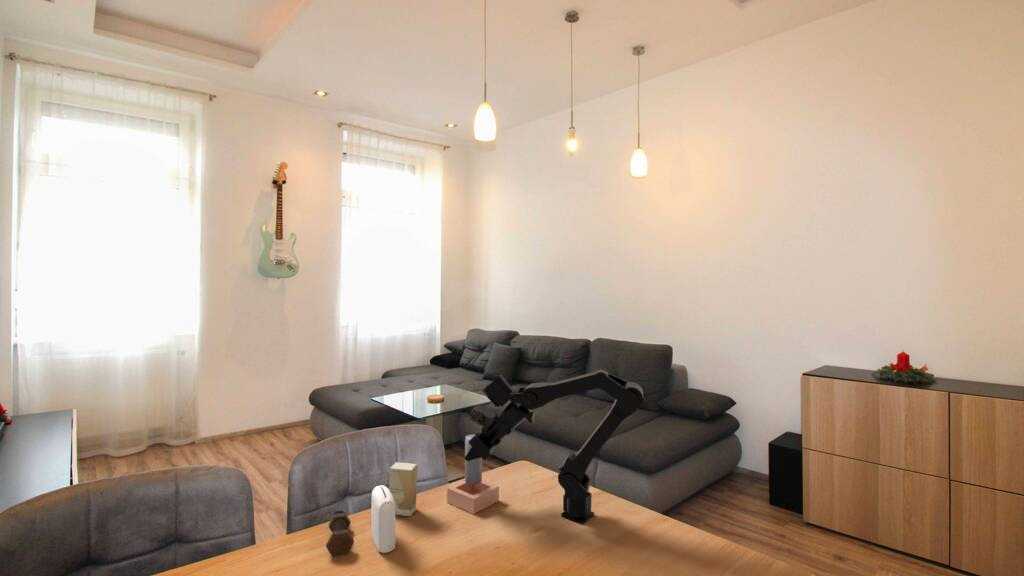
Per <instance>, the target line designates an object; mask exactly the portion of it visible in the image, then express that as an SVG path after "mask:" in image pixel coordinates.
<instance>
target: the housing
mask: <svg viewBox="0 0 1024 576" xmlns="http://www.w3.org/2000/svg"><path fill="white" fill-rule="evenodd" d="M499 501H500V486H499V485H496V484H493V483H491V482H488V481H486V480H484V479H482V482H480V483H478V484H468V483H466V482H465V479H464V480H462V481H460V482H458V483H455V484H453V485H451V486H448V487H447V488H446V503H447V504H450V505H451V504H452V505H451V506H454V507H456V508H458V507H459V509H460V508H462V509H461V510H463V509H464V510H463V511H465V510H466V511H465V512H467V511H468V512H467V513H469V512H470V514H471V515H475V514H476V512H477V513H478V511H479V512H481V511H482V509H483V510H484V509H486V508H489V507H490V506H492V505H493V503H494V504H495V502H496V503H497V502H499ZM480 510H481V511H480Z"/></svg>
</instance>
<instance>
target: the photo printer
mask: <svg viewBox="0 0 1024 576" xmlns="http://www.w3.org/2000/svg"><path fill="white" fill-rule="evenodd" d="M370 505H371V536H372V539H373V542H374V543H373V544H375V547H376V549H377V550H378V552H379V553H381V554H386V553H390V552H392V551H394V549H395V548H396V515H395V501H394V498H393V495H392V493H391V492H390V490H389V487H387V486H386V485H381V484H380V485H376V486H375V487H374V488H373V489H372V491H371V504H370Z"/></svg>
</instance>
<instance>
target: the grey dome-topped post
mask: <svg viewBox="0 0 1024 576" xmlns="http://www.w3.org/2000/svg"><path fill="white" fill-rule="evenodd" d="M475 435H476V433H475V434H468V435H465V437H464V438H465V439H464V458H465V457H466V455H467V454H468V452H469V451H470V449H471V448H472V446H471V445H470V444H469V441H470V440H471V439H472V438H473V437H474V436H475ZM464 480H465V482H466V483H468V484H478V483H480V482H482V480H483V459H482V458H477V459H473V460H470V461H466V460H465V459H464Z"/></svg>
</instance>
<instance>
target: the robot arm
mask: <svg viewBox="0 0 1024 576" xmlns="http://www.w3.org/2000/svg"><path fill="white" fill-rule="evenodd" d="M595 389H600V390H602V391H604V392H605V393H606V394H608V395H609V396H610V397H612V398H613V399H614V402H613V404H612V407H611V408H610V410H609V411H608V412H607V413H606V414H605V416H604V418H603V419H602V421H600V423H599V424H598V426H597V427H596V428H595V429H594V431H593V432H592V433H591V434H590V436H589V437H588V438H587V440H586V441H585V442H584V444H583V445H582V447H580V449H579V450H578V451H576V452H573V451H572V449H570V450H569V452H568V454H567V456H566V457H565V458H563V459H561V463H560V464H559V467H558V471H559V472H558V475H557V480H558V484H559V486H560V487H561V488H563V490H564V494H563V496H562V497H563V501H562V502H563V503H562V510H563V512H562V513H560V516H561V517H562V518H566V519H568V520H571V521H574V522H576V523H578V524H581V525H583V524H584V523H586V522H587V521H588V520H590V519H591V518H592V517H593V516H595V512H594V511H592V494H593V493H592V492H589V490H590V487H591V481H592V479H591V478H590V476H588V474H587V473H586V472H587V470H588V468H589V466H590V464H591V462H592V461H593V460H594V458H596V456H597V455H598V453H599V452H600V451H601V449H602V448H604V445H605V444H606V443H607V442H608V440H610V438H611V437H612V435H613V434H614V432H615V431H616V430H617V429H618V428H619V426H620V425H621V424H622V422H624V421H625V420H626V419H628V418H629V417H631V416H632V415H633V414H635V413H636V412H637V411H638V410H639V409H641V407H642V406H643V404H644V392H643V391H644V390H643V389H642V387H641V385H639V384H638V383H636V382H633V381H627V380H625V379H623V378H621V377H618V376H616V375H614V374H611V373H609V372H608V371H607V370H605V369H598V370H596V371H594V372H589V373H586V374H582V375H578V376H575V377H571V378H570V377H569V378H567V379H563V380H562V379H561V380H559V381H554V382H543V381H542V382H532V383H530V384H529V385H527V386H524V387H521V386H520V387H516V388H513V386H511V385H510V384H509V382H507V380H506V379H505V377H504V376H503V375H502V374H500V375H499V376H497V378H496V379H494V380H493V381H492V382H491V383H489V384H487V385H486V386H485V388H483V389H482V392H481V393H483V394H484V396H485V397H486V398H487V399H488V400H489V401H490V403H492V404H493V406H494V407H495V408H499V407H500V408H503V406H505V407H504V408H503V409H501V411H498V412H497V413H494V412H492V410H489V409H487V408H486V407H484V406H483V405H481V404H477V405H475V406H474V407H473V408H472V410H471V412H470V413H469V418H468V419H469V421H471V422H474V423H476V424H478V425H480V426H482V427H481V432H476V433H475V436H474V437H473V438H472V439H471V440H470V441H469V444H470V445H471V446H472V448H471V449H470V451H469V452H468V454H467V455H466V457H465V456H464V461H465V460H466V461H470V460H473V459H477V458H482V460H484V461H485V460H487V459H488V458H489V457H491V455H492V454H493V452H494V451H495V450H494V448H495V446H498V445H499V444H500V443H501V442H502V441H503V440H504V439H505V438H506V437H508V436H509V435H510V434H511V433H512V432H513V431H514V430H515V429H516V428H517V427H518V426H519V425H520V424H521V423H523V421H524V420H525V419H526V420H527V422H529V424H532V423H533V422H534V420H535V419H536V417H535V413H536V409H538V408H541V407H543V406H545V405H547V404H549V403H551V402H552V401H554V400H556V399H560V398H565V397H568V396H573V395H576V394H579V393H584V392H587V391H592V390H595ZM509 401H510V402H509ZM508 402H509V403H508ZM507 403H508V404H507ZM506 404H507V405H506Z"/></svg>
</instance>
